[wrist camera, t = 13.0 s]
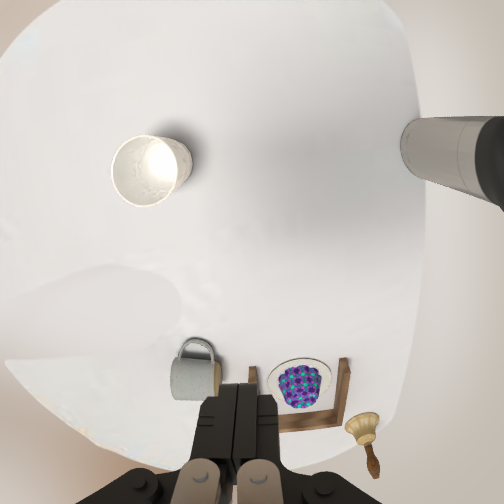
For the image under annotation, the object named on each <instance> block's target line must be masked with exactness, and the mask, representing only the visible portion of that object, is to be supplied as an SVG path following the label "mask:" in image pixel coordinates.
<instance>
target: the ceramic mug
mask: <svg viewBox="0 0 504 504" xmlns="http://www.w3.org/2000/svg"><path fill="white" fill-rule="evenodd" d="M190 343H197V344H200V345H201V346H205V347H206V348H207V349H208V350H209V352H210V356H211V360H201V359H192V358H182V353H183V349H184V348H185V347H186V346H187V345H188V344H190ZM220 384H222V374H221V365H220V364H219V363H218V362H216V361H214V353H213V350H212V348H211V346H210V345H209V344H208V343H207V342H205V341H203V340H200V339H191V340H189V341H187V342H186V343H185V344H184V345H183V346H182V348H181V349H180V352H179V357H176V358H175V359H174V360H173V363H172V367H171V375H170V385H171V392H172V396H173V398H174V399H175V400H202V401H205V399H206V398H207V397H208V396H218V391H219V386H220Z"/></svg>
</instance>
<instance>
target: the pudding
mask: <svg viewBox="0 0 504 504" xmlns="http://www.w3.org/2000/svg"><path fill="white" fill-rule="evenodd" d="M295 365H300V366H298V367H296V368H294V367H292V366H295ZM306 365H310V366H313V367H315V368H309V367H308V366H306ZM289 367H291V368H289ZM287 368H288V369H287ZM316 368H317V369H318V370H319V371H320V373H321V375H322V381H321V376H320V375H318V370H317V369H316ZM286 369H287V370H286ZM284 370H285V374H282V375H280V374H281V373H282V372H283V371H284ZM279 375H280V376H279ZM278 377H279V379H278ZM277 379H278V380H279V383H280V384H279V387H278V385H277ZM331 379H332V376H331V372H330V370H329V368H328V367H327V366H326V365H324V364H323V363H321V362H319V361H316V360H312V359H298V360H292V361H289V362H286V363H284V364H282V365H280V366H279V367H277V368H276V369H275V370H274V371H273V372H272V373H271V375H270V376H269V379H268V388H269V390H270V392H271V393H272V394H273V395H274V396H275V397H276V398H278V399H280V400H283V401H285V402H286V403H287V404H288V405H291V406H292V407H293V408H306V407H308V406H310V405H313V404H314V403H315V402H316V399H318V397H319V396H320V395H321V394H322V393H324V392H325V391H326V390H327V388H328V387H329V385H330V383H331ZM279 388H280V389H279Z"/></svg>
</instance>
